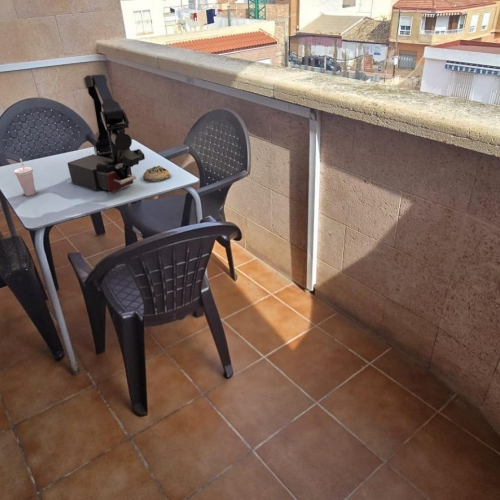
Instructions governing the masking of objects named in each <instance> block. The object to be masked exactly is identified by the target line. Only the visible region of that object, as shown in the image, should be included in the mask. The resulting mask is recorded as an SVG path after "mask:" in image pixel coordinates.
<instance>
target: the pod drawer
mask: <svg viewBox="0 0 500 500" xmlns="http://www.w3.org/2000/svg"><path fill="white" fill-rule="evenodd" d="M94 172H95V177H96V182H97V187H100V188H103V189H102V190H106V191H108V193H110V194H111V193H113V192H116V191H118V190H121V189H123V188H126V187H128V186H130V185H132V184H134V180H136V179H137V176H136V175H135V174H133V172H132V167H131V168H130V169H129V173H128V178H126V179H123V180H121V179H120V177H119V176H118V174H117V173H116V172H115V171H114V172H113V173H110V174H107V175H106V174H105V173H101V171H94Z"/></svg>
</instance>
